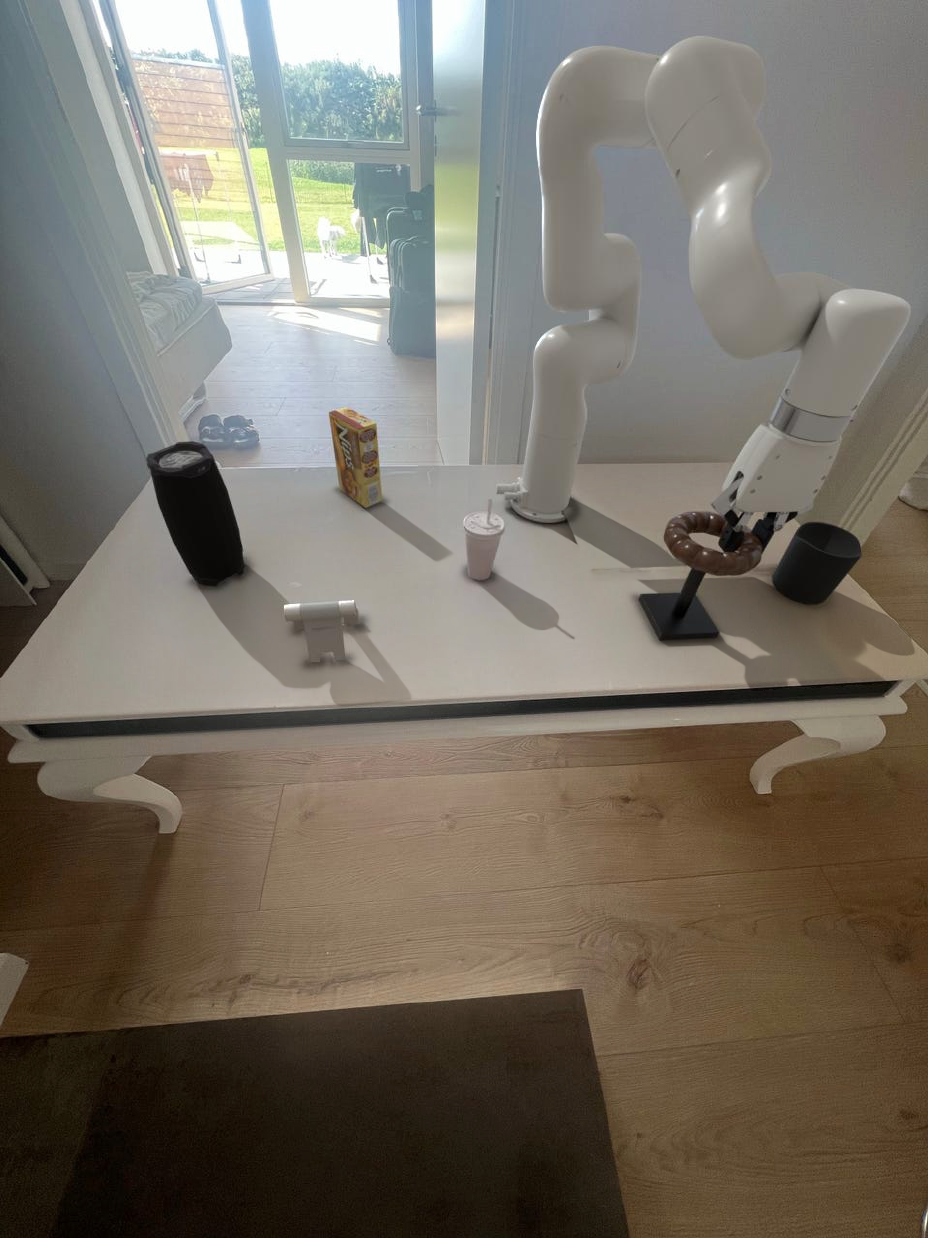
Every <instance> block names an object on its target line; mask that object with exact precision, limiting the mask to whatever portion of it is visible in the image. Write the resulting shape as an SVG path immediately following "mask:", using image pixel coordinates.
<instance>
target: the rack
mask: <svg viewBox="0 0 928 1238" xmlns="http://www.w3.org/2000/svg"><path fill="white" fill-rule="evenodd" d="M706 574H707V573H705V572H701V571H698V570H694V569H692V568H690V570H689V573H688V575H687V577H686V579H685V581H684V583H683V585H682V588H681V590H680V592H659V593H658V592H656V593H640V594H639V596H638V601H639V603H640V606H641V607H642V610H643V611H644V613H645V616H646V617H647V619H648V621H649V624H650V625H651V627H652V629H653V631H654V633H655V635H656V637H657V639H658V641H675V640H678V641H679V640H703V639H717V638H718V636H719V635H720V630H719V629H718V627H717V626H716V624H715V623H714V621H713V619H712V618H711V616H710V615H709V613H708V612H707V610H706V608H705V607H704V605H703V604H702V602H701V600H700V599H699V597H698V595H696V594H697V592H698V590H699V588H700V586H701V584H702V583H703V581H704V578H705V576H706Z"/></svg>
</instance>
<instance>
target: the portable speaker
mask: <svg viewBox="0 0 928 1238" xmlns="http://www.w3.org/2000/svg"><path fill="white" fill-rule="evenodd" d="M146 462H147V463H146V466H147V468H148V469H149V471H150V476H151V479H152V480H151V481H152V484H153V489H154V492H155V497H156V502H157V505H158V507H159V510H160V513H161V515H162V518H163V520H164V524H165V525H166V529H167V530H168V533H169V535H170V538H171V540H172V543H173V545H174V547H175V548H176V551H177V552H178V555H179V557H180V558H181V560H182V562H183V563H184V565H185V567H186V569H187V571H188V572H189V574H190V575H191V577H192V578H193V580H194V582H196V583H198V584H200V585H201V586H205V587H217V586H218V585H219V584H220V583H221V582H223V581H225V580H227V579H229V578H231V577H233V576H235V575H239V576H241V575H242V574H244V572H245V567H246V564H245V561H244V548H243V543H242V538H241V533H240V528H239V524H238V521H237V518H236V515H235V510H234V507H233V504H232V501H231V497H230V494H229V490H228V488H227V486H226V483H225V481H224V478H223V476H222V474H221V472H220V469H219V467H218V465H217V462H216V460H215V458H214V456H213V454H212V453H211V451H210V450H209V449H208V447H207V446H206V445H205V444H204V443H201V442H197V441H194V440H193V441H191V440H190V441H188V440H187V441H178V442H176V443H174V444H173V445H170V446H169V445H168V446H167V447H164V448H162V449H160V450H157V451H155V452H151V453H148V454H147V456H146Z"/></svg>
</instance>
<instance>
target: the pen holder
mask: <svg viewBox="0 0 928 1238" xmlns="http://www.w3.org/2000/svg"><path fill="white" fill-rule="evenodd" d="M862 556H863V555H862V545H861V543H860V540H859V539H858V537H857V536H856V535H855V534H853V533H852V532H851V531H848V530H847V529H844V528H843V527H840V526H837V525H836V524H835V525H834V524H831V523H827V522H824V521H807V522H805V523H802V524H801V525H799V527H798V528H797V529H796V530H795V533H794V534H793V536H792V538H791V540H790V542H789V544H788V545H787V547H786V549H785V551H784V553H783V555H782V557H781V559H780V560H779V562H778V564H777V566H776V568H775V570H774V572H773V574H772V576H771V581H772V585H773V587H774V588H775V589H776V590H777V591H778V593H780V594H781V595H782V596H783V597H785V598H787V599H789V600H791V601H793V602H796V603H800V604H803V605H819V604H821V603H824V602H826V600H828V598H829V597H830V596H831V595H832V593H833V592H835V590H836V589H837V588H838V586H839V585H841V583H842V582H843V580H844V579H845V578H846V576H847V575H848V574H849V573H850V572H851V570H852V569H853V568H854V566H855V565H856V564H857V563H858V561H859V560H860V558H862Z"/></svg>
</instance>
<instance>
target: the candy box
mask: <svg viewBox="0 0 928 1238" xmlns="http://www.w3.org/2000/svg"><path fill="white" fill-rule="evenodd" d="M328 418H329V424H330V433H331V439H332V446H333V453H334V460H335V467H336V475H337V481H338V482H337V483H338V488H339V490H340V491H341V492H343V494H344V495H345V494H346V495H347V496H348V497H349V498H351V499H352V500H354V502H356V503H358V504H359V505H361V506H362V507H364V508H365V509H367V508H369V507H371V506H374V505H376V504H379V503H381V502H382V501H383V495H382V494H383V493H382V482H381V470H380V469H381V468H380V456H379V442H378V441H379V440H378V428H377V423H376V422H374V421H373V420H371V419H369V418H368V417H366V416H365V415H363V414H361V413H359V412H357V411H355V410H354V409H352V408H350V407H349V406H345V407H341V408H337V409H335V410H331V411H329V412H328Z"/></svg>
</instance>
